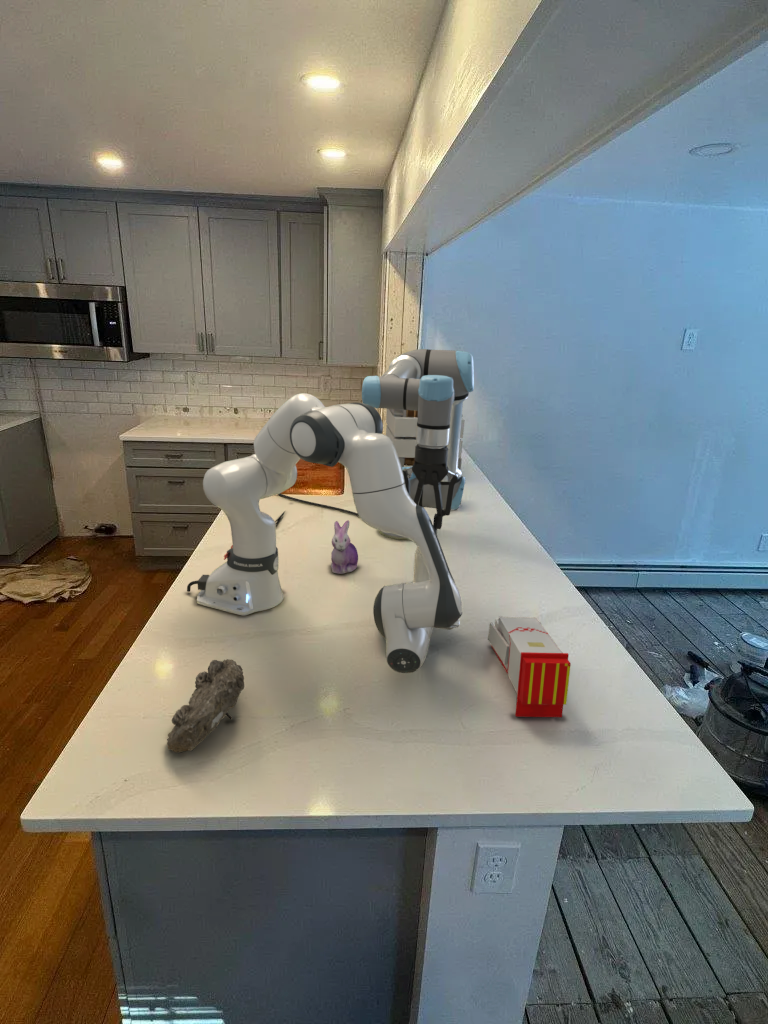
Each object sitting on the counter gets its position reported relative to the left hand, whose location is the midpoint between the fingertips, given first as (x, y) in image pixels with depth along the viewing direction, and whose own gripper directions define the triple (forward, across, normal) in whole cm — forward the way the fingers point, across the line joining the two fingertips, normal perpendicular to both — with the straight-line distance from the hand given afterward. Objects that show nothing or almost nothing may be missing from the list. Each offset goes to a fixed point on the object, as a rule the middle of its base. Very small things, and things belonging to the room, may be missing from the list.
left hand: (421, 595), depth 144 cm
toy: (-19, -25, +7) cm, 32 cm away
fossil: (-46, +34, +7) cm, 58 cm away
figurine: (+24, +26, +7) cm, 36 cm away
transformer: (+136, +17, +7) cm, 138 cm away
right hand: (-1, 0, -16) cm, 16 cm away
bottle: (-1, 0, +7) cm, 7 cm away
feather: (+62, +59, +7) cm, 86 cm away
